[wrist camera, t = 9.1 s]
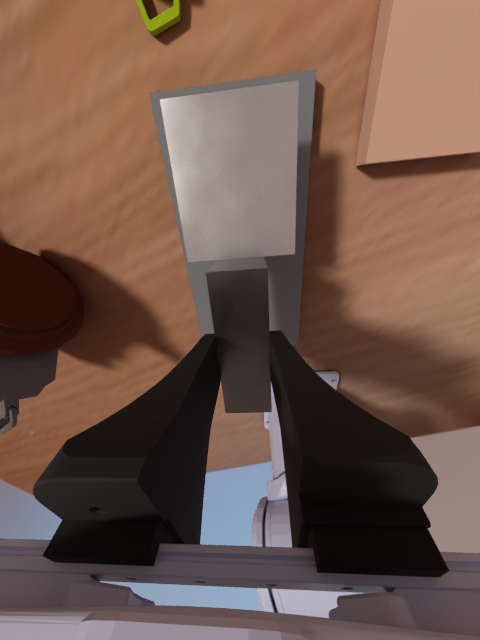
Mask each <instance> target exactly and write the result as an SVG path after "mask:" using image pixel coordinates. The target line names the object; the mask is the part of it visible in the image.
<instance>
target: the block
mask: <svg viewBox="0 0 480 640" xmlns="http://www.w3.org/2000/svg"><path fill="white" fill-rule="evenodd" d="M474 153H480V0H381V2H380V9H379V15H378V22H377V28H376V35H375V41H374V48H373V54H372V61H371V67H370V74H369V80H368V87H367V93H366V100H365V106H364V113H363V119H362V126H361V132H360V139H359V145H358V152H357V158H356V165H355V166H361V165H370V164H380V163H389V162H398V161H408V160H417V159H427V158H436V157H446V156H455V155H465V154H474Z"/></svg>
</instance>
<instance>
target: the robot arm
mask: <svg viewBox="0 0 480 640" xmlns="http://www.w3.org/2000/svg"><path fill="white" fill-rule="evenodd" d="M269 348H270V377H271V402H272V412H264V424H265V428H266V429H269V432H270V445H271V457H272V470H273V481H268V482H267V497H263V498H262V499H261V500H260V501H259V504H258V506H257V509H256V511H255V514H254V517H253V522H252V532H251V546H227V545H200V536H201V521H202V509H203V497H204V496H203V495H204V485H205V474H206V465H207V455H208V446H209V437H210V429H211V424H212V419H213V414H214V409H215V405H216V400H217V396H218V391H219V386H220V381H221V373H220V366H219V359H218V352H217V345H216V338H215V335H214V334H205V335H204V336H203V337H202V338H201V339H200V340H199V342H198V343H197V344H196V345H195V346H194V347H193V349H192V350H191V351H190V352H189V353H188V354H187V355H186V356H185V358H184V359H183V360H182V361H181V362H180V363H179V364H178V365H177V366H176V367H175V368H174V369H173V370H172V371H171V372H170V373H169V374H168V375H166V376H165V377H164V378H163V379H162V380H161V381H159V382H158V383H157V384H156V385H155V386H153V387H152V388H151V389H150V390H148V391H147V392H146V393H144V394H143V395H141V396H140V397H139V398H137V399H136V400H135V401H133V402H132V403H130V404H129V405H127V406H126V407H124V408H123V409H121V410H120V411H118V412H116V413H115V414H113V415H111V416H110V417H108V418H107V419H105V420H103V421H101V422H100V423H98V424H96V425H94V426H92V427H91V428H89V429H87V430H85V431H83V432H81V433H80V434H78V435H76V436H74V437H72V438H70V439H68V440H67V441H66V442H65V444H64V445H63V446H62V448H61V449H60V450H59V452H58V453H57V454H56V456H55V457H54V458H53V460H52V461H51V463H50V464H49V465H48V467H47V468H46V469H45V471H44V472H43V473H42V475H41V476H40V477H39V479H38V480H37V482H36V483H35V484H34V487H33V494H34V496H35V498H36V499H37V500H38V501H39V502H40V503H41V504H42V505H44V506H45V507H46V508H48V509H49V510H50V511H52V512H53V513H54V514H56V515H57V516H58V517H60V518H61V519H62V522H61V524H60V525H59V527H58V529H57V531H56V533H55V534H54V536H53V538H52V540H31V539H30V540H29V539H28V540H27V539H0V640H480V553H456V552H455V553H454V552H439V550H438V548H437V546H436V544H435V542H434V540H433V538H432V536H431V534H430V533H429V531H428V529H427V528H430V527H431V525H430V521H429V519H428V518H427V516H426V514H425V512H424V510H423V508H422V506H423V505H424V504H425V503H426V502H427V500H428V499H429V498H430V497H431V496H432V495H433V493H434V492H435V490H436V488H437V485H438V479H437V476H436V474H435V473H434V472H433V470H432V468H431V467H430V465H429V464H428V462H427V460H426V459H425V458H424V456H423V455H422V453H421V452H420V450H419V449H418V448H417V447H416V445H415V444H414V443H413V442H412V440H411V439H410V437H408V436H407V435H405V434H403V433H401V432H400V431H398V430H396V429H394V428H393V427H391V426H389V425H388V424H386V423H384V422H382V421H381V420H379V419H377V418H375V417H374V416H372V415H371V414H369V413H368V412H366V411H364V410H363V409H361V408H360V407H358V406H357V405H355V404H354V403H353V402H351V401H350V400H348V399H347V398H346V397H344V396H343V395H342V394H340V393H339V392H338V391H336V390H337V385H338V380H339V374H338V372H336V371H324V372H315V371H314V370H313V369H312V368H311V367H310V366H309V365H308V364H307V363H306V362H305V361H304V360H303V359H302V357H301V356H300V355H299V354H298V353H297V351H296V350H295V349H294V348H293V346H292V345H291V344H290V342H289V341H288V340H287V338H286V337H285V335H284V333H283V332H282V331H281V330H277V331H270V334H269ZM100 581H114V582H115V581H117V582H136V583H158V584H180V585H201V586H223V587H225V586H226V587H245V588H246V587H247V588H256V590H257V594H258V597H259V600H260V603H261V605H262V608H263V610H264V611H253V610H240V609H227V608H210V607H191V606H158V605H157V606H156V605H155V603H154V602H153V601H150V600H147V599H145V598H142V597H140V596H138V595H137V594H135V593H133V591H132V590H131V589H130V587H126V586H119V585H113V584H108V583H102V582H100Z"/></svg>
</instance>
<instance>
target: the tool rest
mask: <svg viewBox="0 0 480 640" xmlns="http://www.w3.org/2000/svg"><path fill="white" fill-rule="evenodd" d="M297 80H299V93H298V138H297V182H296V227H295V254H291V255H277V256H264V259H265V261H266V264H267V267H268V291H269V328H270V331H277V330H281V331H282V332H283V333H284V335H285V337H286V338H287V340H288V341H289V342H290V344H291V345H292V346H298V341H299V326H300V310H301V295H302V280H303V264H304V249H305V234H306V219H307V203H308V188H309V173H310V157H311V142H312V127H313V111H314V96H315V81H316V70H311V71H304V72H297V73H290V74H283V75H276V76H269V77H262V78H255V79H248V80H241V81H234V82H227V83H220V84H213V85H206V86H198V87H191V88H184V89H177V90H170V91H163V92H156V93H149V95H150V100H151V104H152V109H153V114H154V118H155V123H156V127H157V132H158V137H159V141H160V146H161V151H162V155H163V160H164V164H165V169H166V174H167V178H168V183H169V187H170V192H171V197H172V201H173V206H174V211H175V215H176V220H177V224H178V229H179V234H180V238H181V243H182V247H183V252H184V257H185V261H186V266H187V271H188V275H189V280H190V284H191V289H192V294H193V298H194V303H195V307H196V312H197V317H198V321H199V326H200V331H201V335H202V337H203V336H204V335H205V334H214V328H213V321H212V314H211V307H210V300H209V293H208V286H207V279H206V271H207V270H208V269H209V268H210V267H211V266H212V265H213V264H214V263H215V262H216V261H217V260H211V261H197V262H188V260H187V254H186V248H185V242H184V237H183V231H182V225H181V219H180V214H179V208H178V202H177V196H176V191H175V185H174V179H173V173H172V168H171V162H170V156H169V150H168V145H167V139H166V133H165V127H164V122H163V116H162V110H161V104H160V99H166V98H174V97H181V96H188V95H196V94H203V93H210V92H217V91H225V90H232V89H239V88H246V87H254V86H261V85H268V84H276V83H283V82H290V81H297Z"/></svg>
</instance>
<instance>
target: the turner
mask: <svg viewBox="0 0 480 640" xmlns="http://www.w3.org/2000/svg"><path fill="white" fill-rule="evenodd" d="M298 93H299V80H297V81H290V82H283V83H276V84H268V85H261V86H254V87H246V88H239V89H232V90H225V91H217V92H210V93H203V94H196V95H188V96H181V97H174V98H166V99H160V104H161V110H162V116H163V122H164V127H165V133H166V139H167V145H168V150H169V156H170V162H171V168H172V173H173V179H174V185H175V191H176V196H177V202H178V208H179V214H180V219H181V225H182V231H183V237H184V242H185V248H186V254H187V260H188V262H197V261H211V260H217V261H216V262H215V263H214V264H213V265H212V266H211V267H210V268H209V269H208V270H207V271H206V279H207V286H208V293H209V300H210V307H211V314H212V321H213V328H214V335H215V338H216V345H217V352H218V359H219V366H220V373H221V383H222V390H223V397H224V404H225V411H226V413H253V412H272V402H271V377H270V348H269V334H270V328H269V291H268V267H267V264H266V261H265V259H264V256H277V255H291V254H295V227H296V182H297V138H298Z"/></svg>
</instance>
